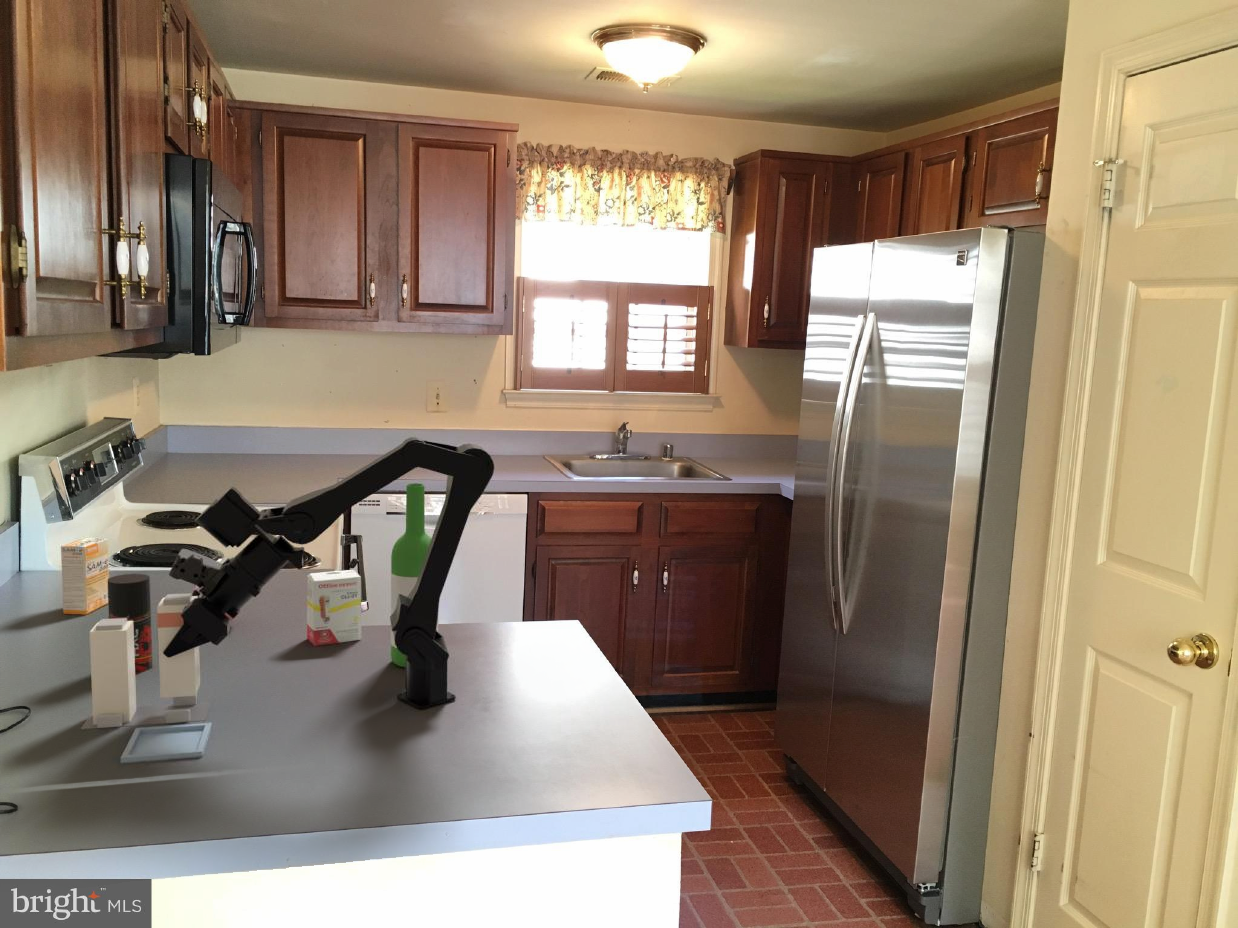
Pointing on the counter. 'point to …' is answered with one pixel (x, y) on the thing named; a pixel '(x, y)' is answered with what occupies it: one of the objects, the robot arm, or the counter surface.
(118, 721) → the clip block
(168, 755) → the tray
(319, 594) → the ink box
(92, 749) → the counter surface
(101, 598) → the supplement box
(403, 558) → the wine bottle
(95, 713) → the block
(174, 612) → the block
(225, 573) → the robot arm
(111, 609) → the deodorant
